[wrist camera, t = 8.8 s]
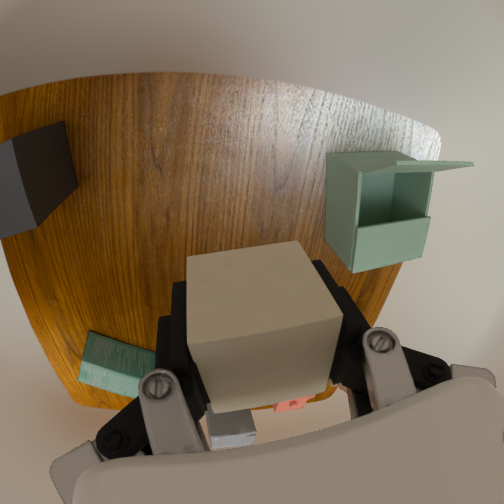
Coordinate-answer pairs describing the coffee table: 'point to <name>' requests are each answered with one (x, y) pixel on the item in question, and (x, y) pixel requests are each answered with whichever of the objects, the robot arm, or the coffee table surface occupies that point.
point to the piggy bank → (291, 404)
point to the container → (375, 210)
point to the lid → (416, 166)
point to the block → (260, 325)
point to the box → (114, 365)
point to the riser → (34, 178)
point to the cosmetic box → (230, 428)
